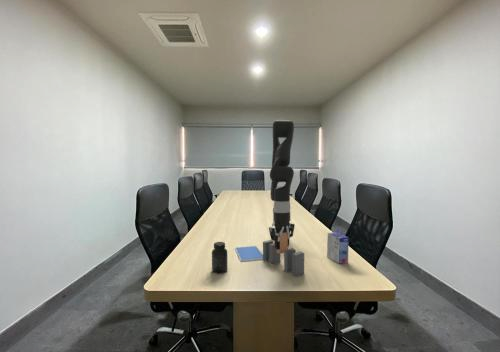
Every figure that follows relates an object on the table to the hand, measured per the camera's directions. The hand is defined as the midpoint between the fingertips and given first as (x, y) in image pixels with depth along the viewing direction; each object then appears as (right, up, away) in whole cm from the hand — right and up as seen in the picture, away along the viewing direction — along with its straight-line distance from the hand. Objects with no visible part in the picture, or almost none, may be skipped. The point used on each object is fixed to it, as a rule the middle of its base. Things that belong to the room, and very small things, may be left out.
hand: (282, 247), depth 107 cm
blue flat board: (-15, -9, +17) cm, 24 cm away
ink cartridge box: (+28, -8, +8) cm, 30 cm away
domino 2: (-3, -8, +5) cm, 10 cm away
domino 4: (+3, -9, -4) cm, 10 cm away
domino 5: (+6, -9, -8) cm, 13 cm away
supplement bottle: (-28, -9, -3) cm, 30 cm away
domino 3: (0, -2, 0) cm, 2 cm away
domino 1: (-6, -8, +9) cm, 13 cm away
